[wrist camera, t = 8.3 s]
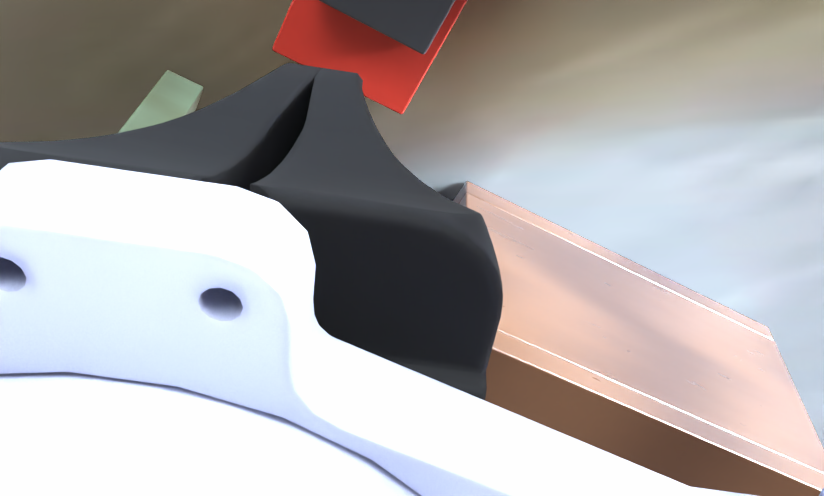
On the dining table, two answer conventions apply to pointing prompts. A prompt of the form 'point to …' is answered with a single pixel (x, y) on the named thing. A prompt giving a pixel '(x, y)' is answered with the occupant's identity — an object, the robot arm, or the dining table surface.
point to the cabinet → (640, 363)
